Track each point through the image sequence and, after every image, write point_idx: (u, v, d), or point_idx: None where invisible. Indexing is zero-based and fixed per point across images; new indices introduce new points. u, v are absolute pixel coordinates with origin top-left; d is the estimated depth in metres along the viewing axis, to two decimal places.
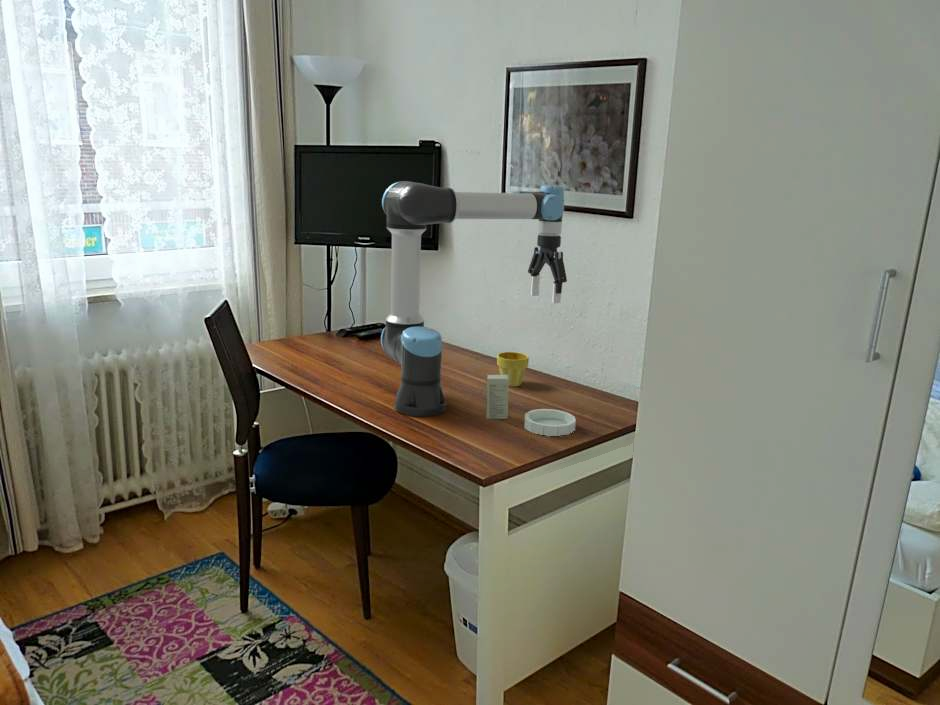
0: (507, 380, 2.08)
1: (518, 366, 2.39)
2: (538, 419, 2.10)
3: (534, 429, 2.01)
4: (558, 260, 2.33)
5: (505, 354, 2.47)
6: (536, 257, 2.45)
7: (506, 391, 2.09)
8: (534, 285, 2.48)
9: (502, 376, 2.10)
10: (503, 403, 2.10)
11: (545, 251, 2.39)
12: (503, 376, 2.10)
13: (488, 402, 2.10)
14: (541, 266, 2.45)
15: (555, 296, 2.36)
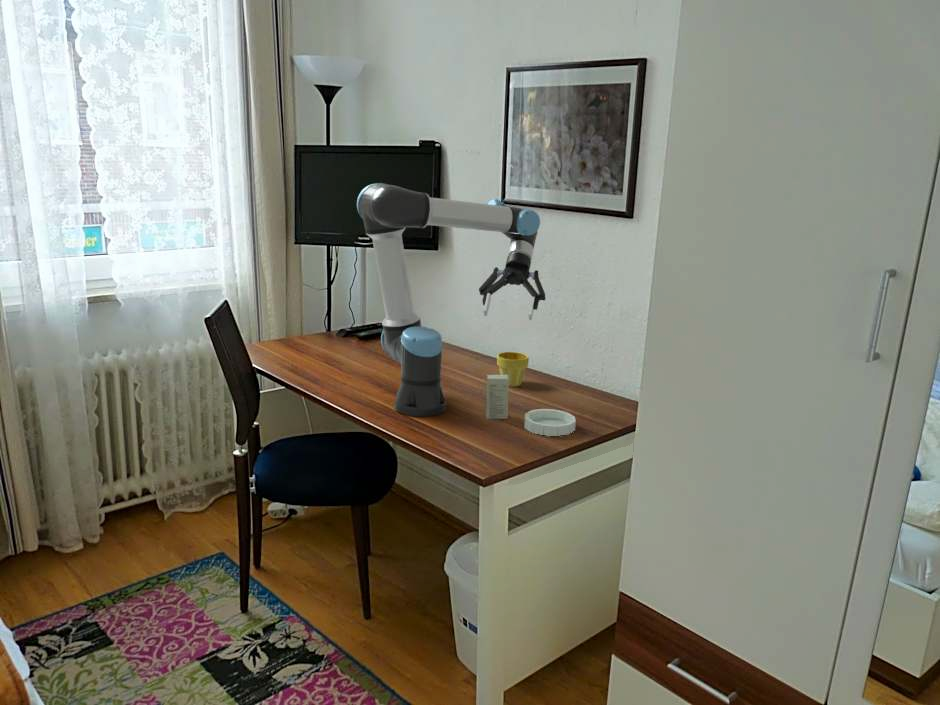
0: (507, 380, 2.08)
1: (518, 366, 2.39)
2: (538, 419, 2.10)
3: (534, 429, 2.01)
4: (538, 278, 2.23)
5: (505, 354, 2.47)
6: (494, 277, 2.26)
7: (506, 391, 2.09)
8: (488, 302, 2.21)
9: (502, 376, 2.10)
10: (503, 403, 2.10)
11: (516, 270, 2.25)
12: (503, 376, 2.10)
13: (488, 402, 2.10)
14: (499, 287, 2.25)
15: (532, 309, 2.17)
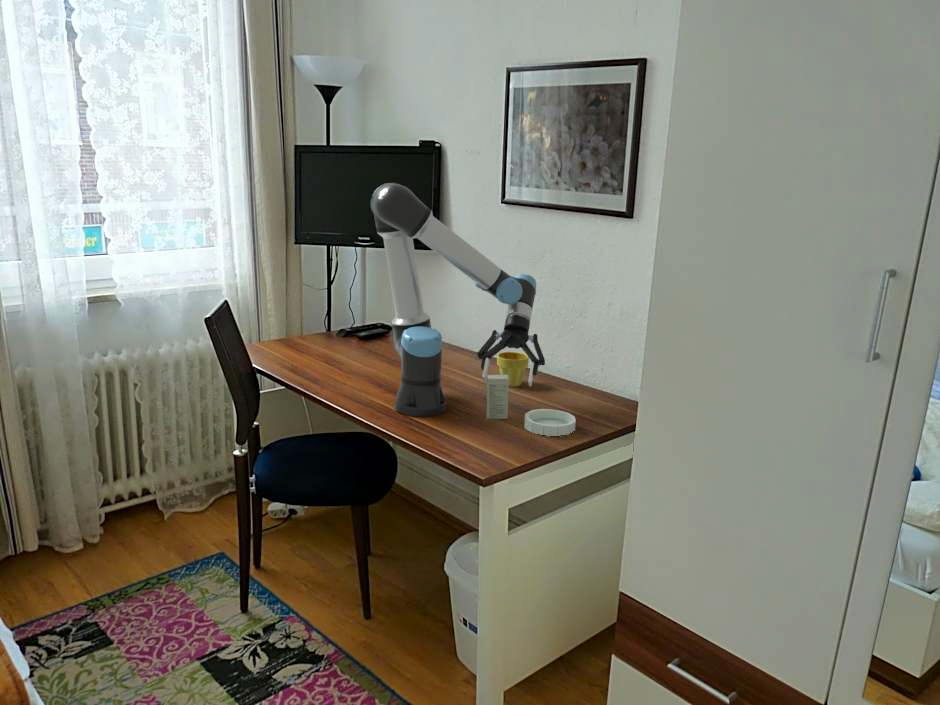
0: (507, 380, 2.08)
1: (518, 366, 2.39)
2: (538, 419, 2.10)
3: (534, 429, 2.01)
4: (537, 342, 2.20)
5: (505, 354, 2.47)
6: (492, 340, 2.22)
7: (506, 391, 2.09)
8: (487, 368, 2.18)
9: (502, 376, 2.10)
10: (503, 403, 2.10)
11: (514, 333, 2.22)
12: (503, 376, 2.10)
13: (488, 402, 2.10)
14: (497, 351, 2.21)
15: (532, 376, 2.14)
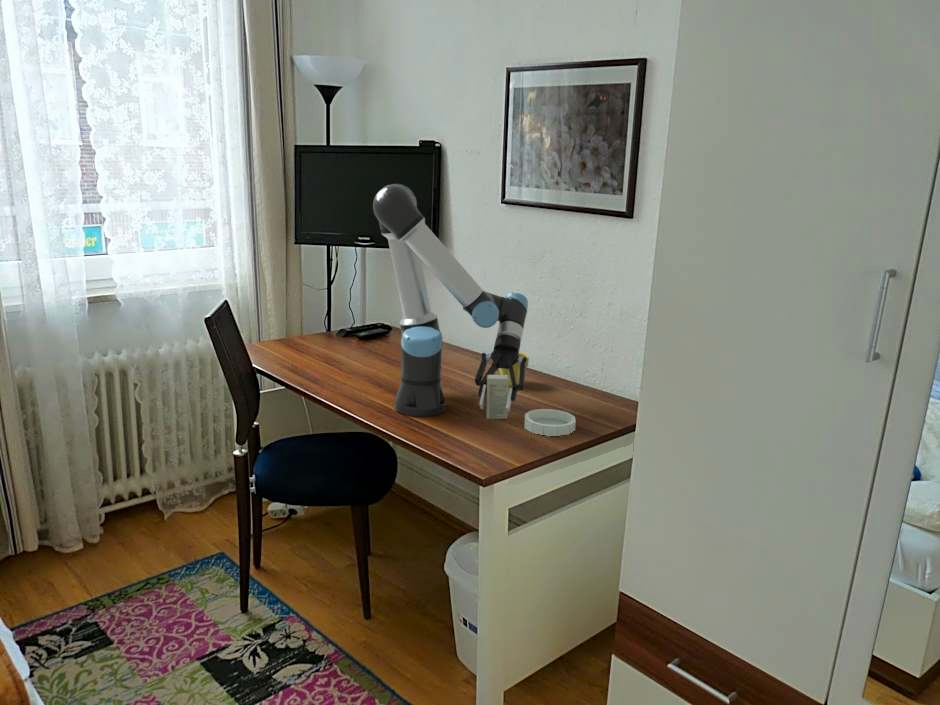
0: (507, 380, 2.08)
1: (518, 366, 2.39)
2: (538, 419, 2.10)
3: (534, 429, 2.01)
4: (524, 366, 2.14)
5: None
6: (485, 363, 2.16)
7: (506, 391, 2.09)
8: (484, 395, 2.11)
9: (502, 376, 2.10)
10: (503, 403, 2.10)
11: (504, 353, 2.17)
12: (503, 376, 2.10)
13: (488, 402, 2.10)
14: (492, 374, 2.15)
15: (509, 401, 2.09)
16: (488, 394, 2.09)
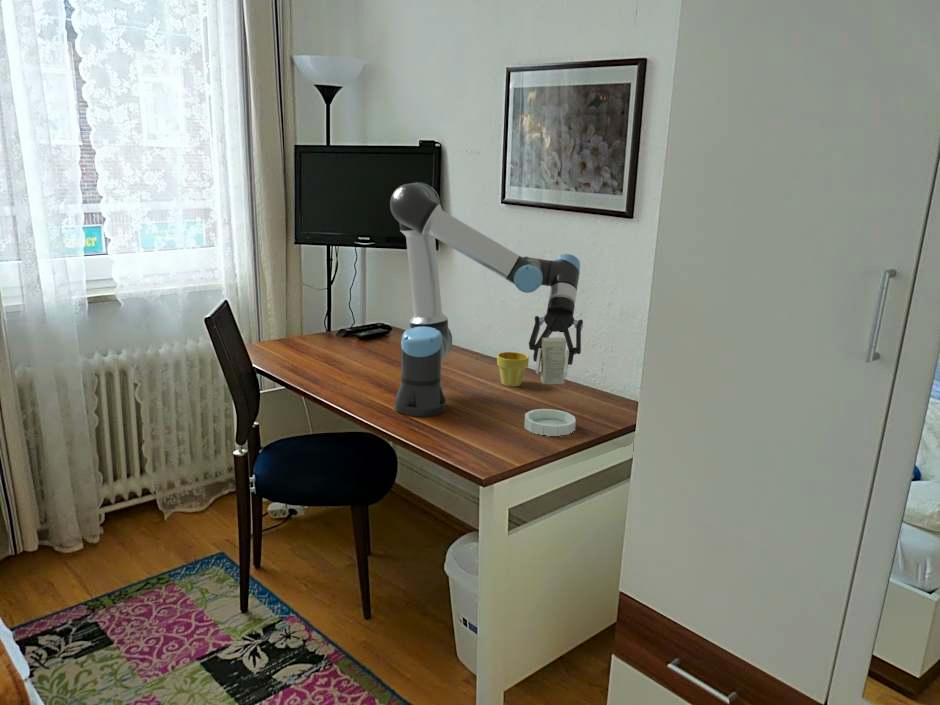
0: (564, 342, 1.99)
1: (518, 366, 2.39)
2: (538, 419, 2.10)
3: (534, 429, 2.01)
4: (580, 329, 2.04)
5: (505, 354, 2.47)
6: (538, 327, 2.07)
7: (563, 354, 1.99)
8: (540, 359, 2.01)
9: (558, 339, 2.00)
10: (559, 367, 2.00)
11: (559, 316, 2.07)
12: (559, 339, 2.00)
13: (544, 366, 2.00)
14: (546, 337, 2.06)
15: (567, 365, 1.99)
16: (544, 358, 1.99)
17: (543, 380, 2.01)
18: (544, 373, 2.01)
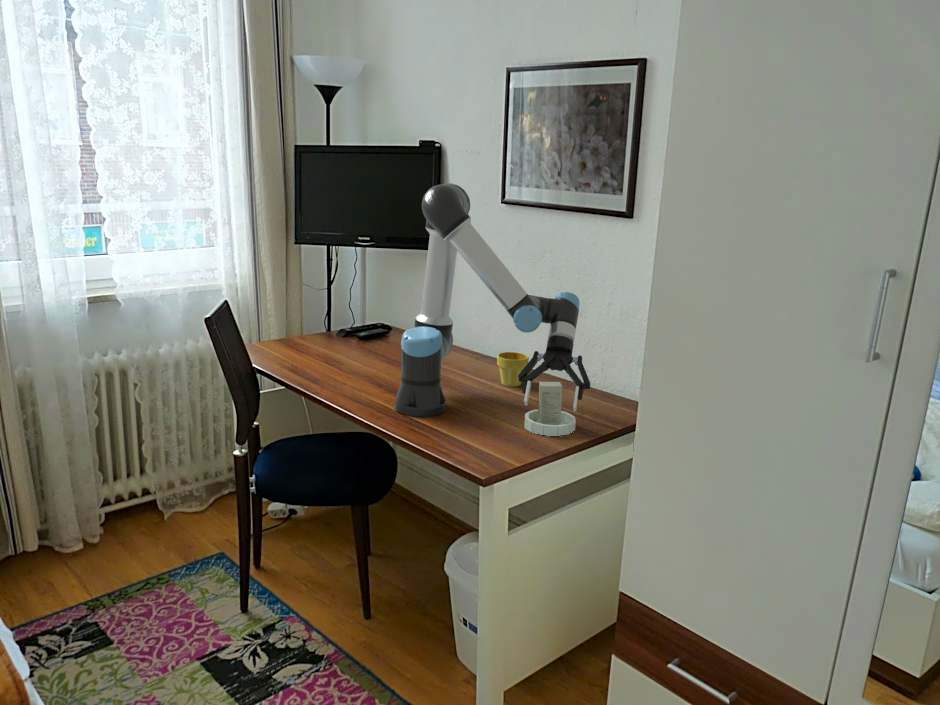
0: (560, 387, 2.01)
1: (518, 366, 2.39)
2: None
3: (534, 429, 2.01)
4: (582, 364, 2.07)
5: (505, 354, 2.47)
6: (534, 362, 2.10)
7: (559, 399, 2.02)
8: (528, 391, 2.05)
9: (555, 383, 2.03)
10: (556, 411, 2.03)
11: (557, 355, 2.09)
12: (556, 383, 2.03)
13: (540, 410, 2.03)
14: (540, 373, 2.09)
15: (577, 400, 2.01)
16: (541, 402, 2.02)
17: None
18: (540, 417, 2.04)
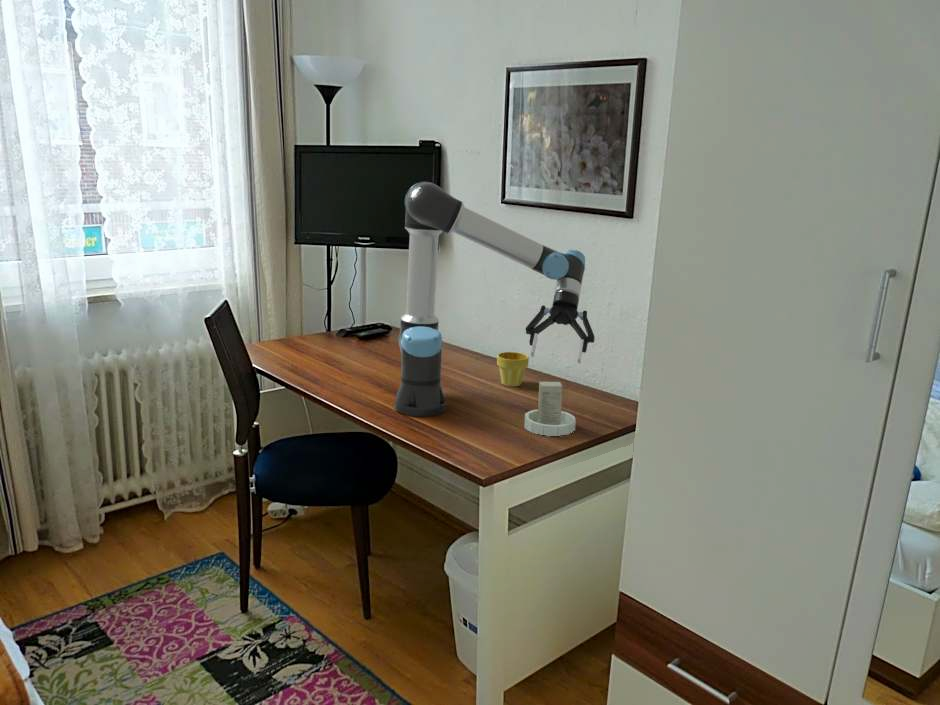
0: (560, 387, 2.01)
1: (518, 366, 2.39)
2: None
3: (534, 429, 2.01)
4: None
5: (505, 354, 2.47)
6: (541, 316, 2.19)
7: (559, 399, 2.02)
8: (535, 343, 2.15)
9: (555, 383, 2.03)
10: (556, 411, 2.03)
11: (563, 310, 2.19)
12: (556, 383, 2.03)
13: (540, 410, 2.03)
14: (546, 326, 2.19)
15: (581, 353, 2.12)
16: (541, 402, 2.02)
17: None
18: (540, 417, 2.04)
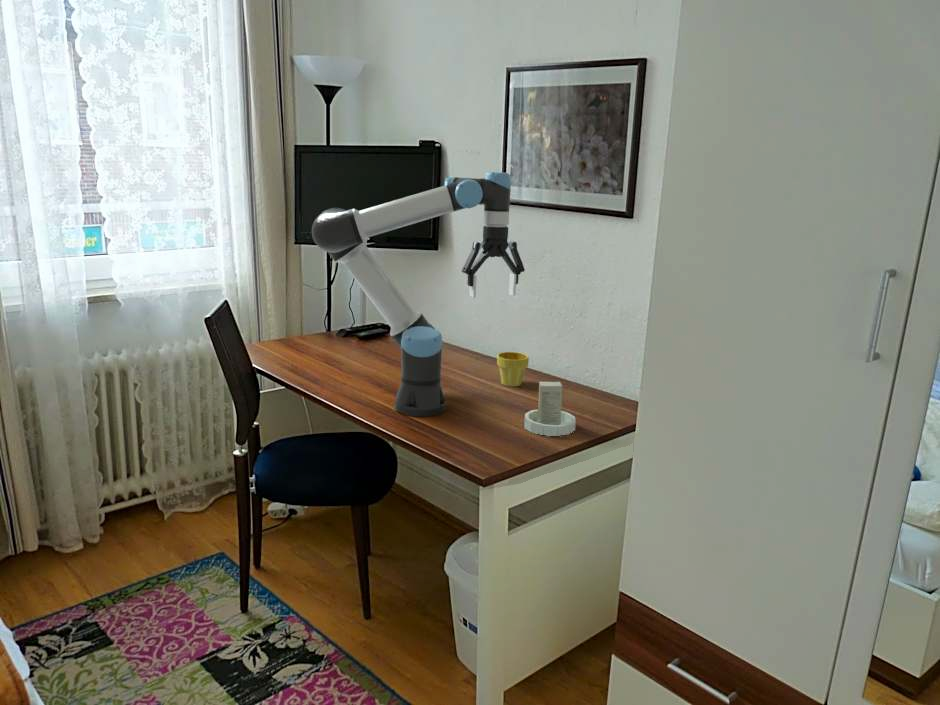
0: (560, 387, 2.01)
1: (518, 366, 2.39)
2: None
3: (534, 429, 2.01)
4: None
5: (505, 354, 2.47)
6: None
7: (559, 399, 2.02)
8: None
9: (555, 383, 2.03)
10: (556, 411, 2.03)
11: (496, 244, 2.20)
12: (556, 383, 2.03)
13: (540, 410, 2.03)
14: None
15: None
16: (541, 402, 2.02)
17: None
18: (540, 417, 2.04)
